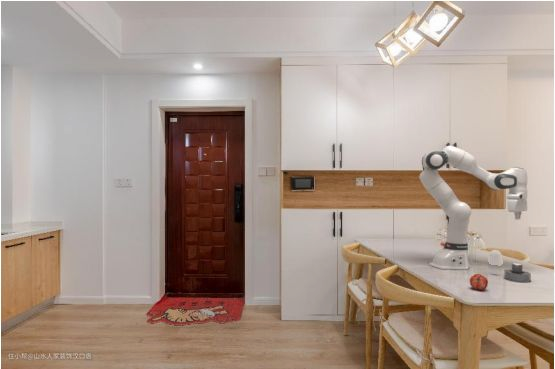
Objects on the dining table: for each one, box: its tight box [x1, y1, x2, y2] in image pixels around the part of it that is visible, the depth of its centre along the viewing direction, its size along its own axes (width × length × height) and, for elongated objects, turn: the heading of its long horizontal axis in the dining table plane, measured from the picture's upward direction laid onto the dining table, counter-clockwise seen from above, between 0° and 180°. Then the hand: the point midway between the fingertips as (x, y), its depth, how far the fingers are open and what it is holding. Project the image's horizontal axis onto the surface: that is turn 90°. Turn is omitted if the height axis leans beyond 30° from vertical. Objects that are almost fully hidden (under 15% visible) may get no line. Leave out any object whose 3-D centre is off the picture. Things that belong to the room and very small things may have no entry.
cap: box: [511, 262, 523, 273], centre depth 188 cm, size 4×4×8 cm
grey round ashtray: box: [503, 268, 532, 284], centre depth 188 cm, size 11×11×4 cm
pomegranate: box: [469, 273, 489, 291], centre depth 170 cm, size 7×7×10 cm
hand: (517, 219), depth 210 cm, fingers closed
